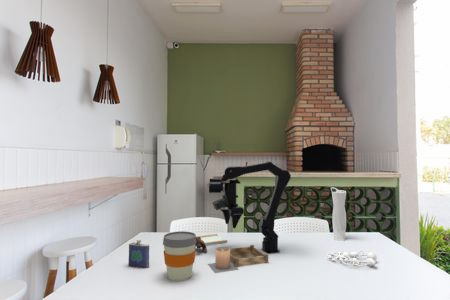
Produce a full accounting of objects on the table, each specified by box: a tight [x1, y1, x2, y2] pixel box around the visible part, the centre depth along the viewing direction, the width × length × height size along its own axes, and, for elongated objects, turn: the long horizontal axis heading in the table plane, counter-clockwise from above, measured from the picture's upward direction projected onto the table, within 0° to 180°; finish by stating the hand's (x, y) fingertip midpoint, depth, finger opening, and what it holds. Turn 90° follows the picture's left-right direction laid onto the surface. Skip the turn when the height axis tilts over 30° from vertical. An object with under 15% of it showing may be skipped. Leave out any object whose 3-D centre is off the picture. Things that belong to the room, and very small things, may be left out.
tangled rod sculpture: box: [326, 250, 378, 267], centre depth 123 cm, size 19×14×4 cm
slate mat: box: [207, 262, 240, 274], centre depth 117 cm, size 10×10×1 cm
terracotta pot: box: [214, 246, 231, 269], centre depth 117 cm, size 6×6×7 cm
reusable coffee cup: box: [162, 230, 197, 282], centre depth 109 cm, size 13×13×15 cm
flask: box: [128, 239, 150, 269], centre depth 118 cm, size 9×3×11 cm, turn 74°
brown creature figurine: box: [195, 237, 208, 254], centre depth 136 cm, size 12×10×8 cm
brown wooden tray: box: [230, 244, 269, 268], centre depth 126 cm, size 15×15×4 cm
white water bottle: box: [330, 187, 347, 242], centre depth 158 cm, size 8×8×28 cm
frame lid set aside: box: [196, 233, 228, 247], centre depth 154 cm, size 14×14×1 cm
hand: (230, 226), depth 137 cm, fingers open, 9 cm apart
